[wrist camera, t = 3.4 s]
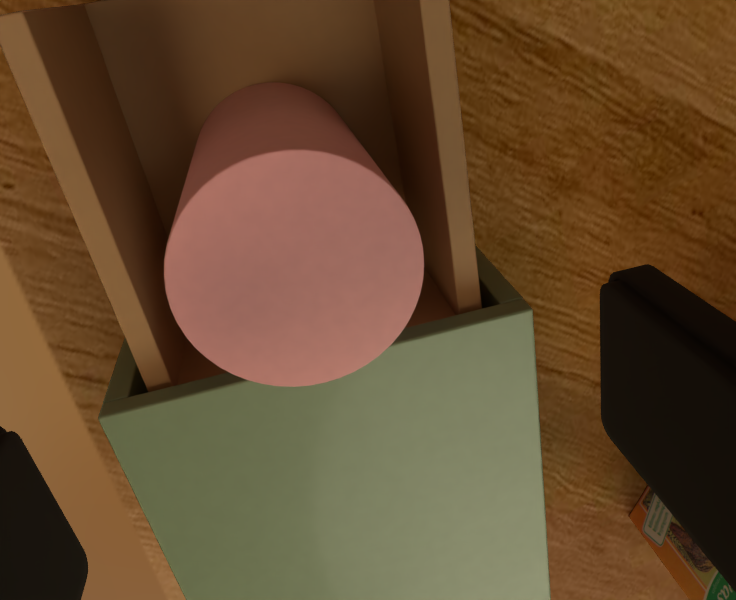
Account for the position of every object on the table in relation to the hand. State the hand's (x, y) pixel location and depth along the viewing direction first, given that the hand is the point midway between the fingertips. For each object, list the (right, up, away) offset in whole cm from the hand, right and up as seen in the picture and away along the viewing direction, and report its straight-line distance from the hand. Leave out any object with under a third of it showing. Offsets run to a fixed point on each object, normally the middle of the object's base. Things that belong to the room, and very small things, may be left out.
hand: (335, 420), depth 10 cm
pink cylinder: (-3, +7, +14) cm, 16 cm away
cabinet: (-1, -2, +21) cm, 21 cm away
